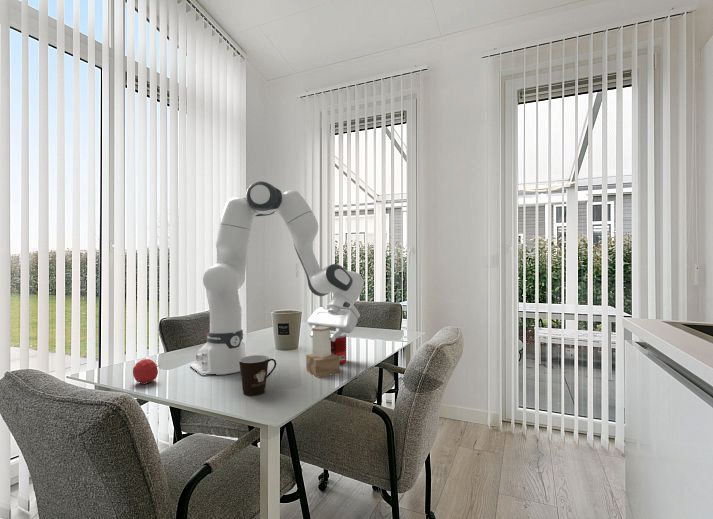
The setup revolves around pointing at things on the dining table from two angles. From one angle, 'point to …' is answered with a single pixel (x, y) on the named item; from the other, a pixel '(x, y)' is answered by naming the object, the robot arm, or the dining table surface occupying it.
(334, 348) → the canned food
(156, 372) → the tomato
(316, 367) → the block
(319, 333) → the pink-rimmed square pillar
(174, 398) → the dining table surface
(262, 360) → the coffee mug
